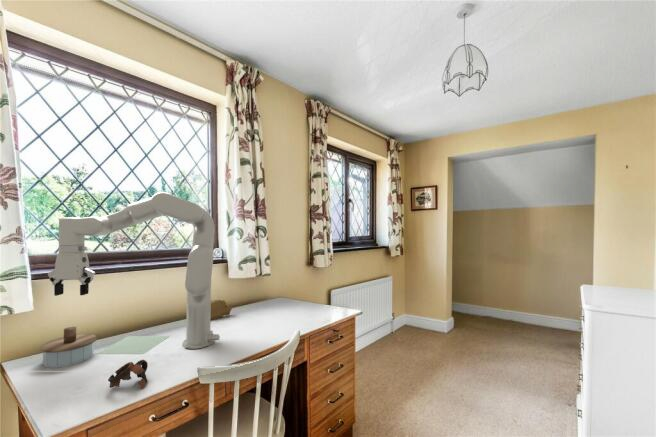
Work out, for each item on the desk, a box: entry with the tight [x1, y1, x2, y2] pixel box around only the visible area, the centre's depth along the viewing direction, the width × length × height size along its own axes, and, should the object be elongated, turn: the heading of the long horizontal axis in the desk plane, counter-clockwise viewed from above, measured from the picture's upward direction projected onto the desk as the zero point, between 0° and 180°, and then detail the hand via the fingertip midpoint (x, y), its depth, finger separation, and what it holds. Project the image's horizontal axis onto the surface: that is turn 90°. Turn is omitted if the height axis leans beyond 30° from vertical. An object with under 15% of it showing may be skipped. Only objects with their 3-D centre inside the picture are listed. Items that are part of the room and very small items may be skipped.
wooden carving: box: [211, 299, 233, 320], centre depth 165 cm, size 16×5×10 cm, turn 133°
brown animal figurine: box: [107, 359, 149, 390], centre depth 95 cm, size 12×9×8 cm
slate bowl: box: [42, 342, 95, 369], centre depth 113 cm, size 14×14×6 cm
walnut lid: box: [40, 326, 98, 353], centre depth 113 cm, size 16×16×6 cm
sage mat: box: [95, 335, 170, 355], centre depth 127 cm, size 19×19×1 cm
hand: (71, 294), depth 114 cm, fingers open, 9 cm apart
